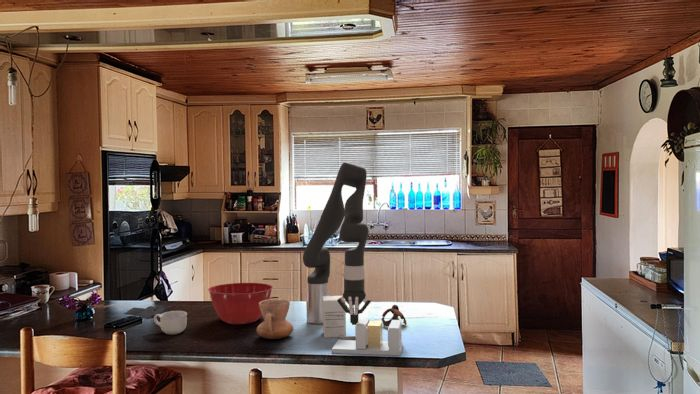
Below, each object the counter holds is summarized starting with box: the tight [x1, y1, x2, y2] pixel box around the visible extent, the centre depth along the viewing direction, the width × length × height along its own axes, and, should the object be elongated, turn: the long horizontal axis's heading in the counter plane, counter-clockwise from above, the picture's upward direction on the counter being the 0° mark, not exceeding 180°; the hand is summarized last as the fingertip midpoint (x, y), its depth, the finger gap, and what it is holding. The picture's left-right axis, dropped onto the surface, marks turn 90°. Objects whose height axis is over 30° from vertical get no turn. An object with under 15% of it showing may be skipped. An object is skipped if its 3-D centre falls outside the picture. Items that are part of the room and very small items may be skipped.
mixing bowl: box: [207, 282, 273, 325], centre depth 240 cm, size 28×28×15 cm
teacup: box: [153, 310, 188, 335], centre depth 223 cm, size 14×11×8 cm
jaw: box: [338, 317, 371, 349], centre depth 196 cm, size 10×12×8 cm
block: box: [368, 320, 384, 348], centre depth 195 cm, size 4×7×8 cm, turn 170°
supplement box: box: [322, 295, 347, 339], centre depth 216 cm, size 9×9×15 cm
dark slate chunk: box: [123, 305, 169, 320], centre depth 254 cm, size 15×22×5 cm
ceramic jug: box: [256, 298, 294, 340], centre depth 213 cm, size 18×14×14 cm
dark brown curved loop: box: [380, 304, 407, 327], centre depth 229 cm, size 12×9×8 cm
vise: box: [331, 319, 404, 356], centre depth 195 cm, size 24×12×10 cm, turn 80°
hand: (354, 324), depth 197 cm, fingers closed
